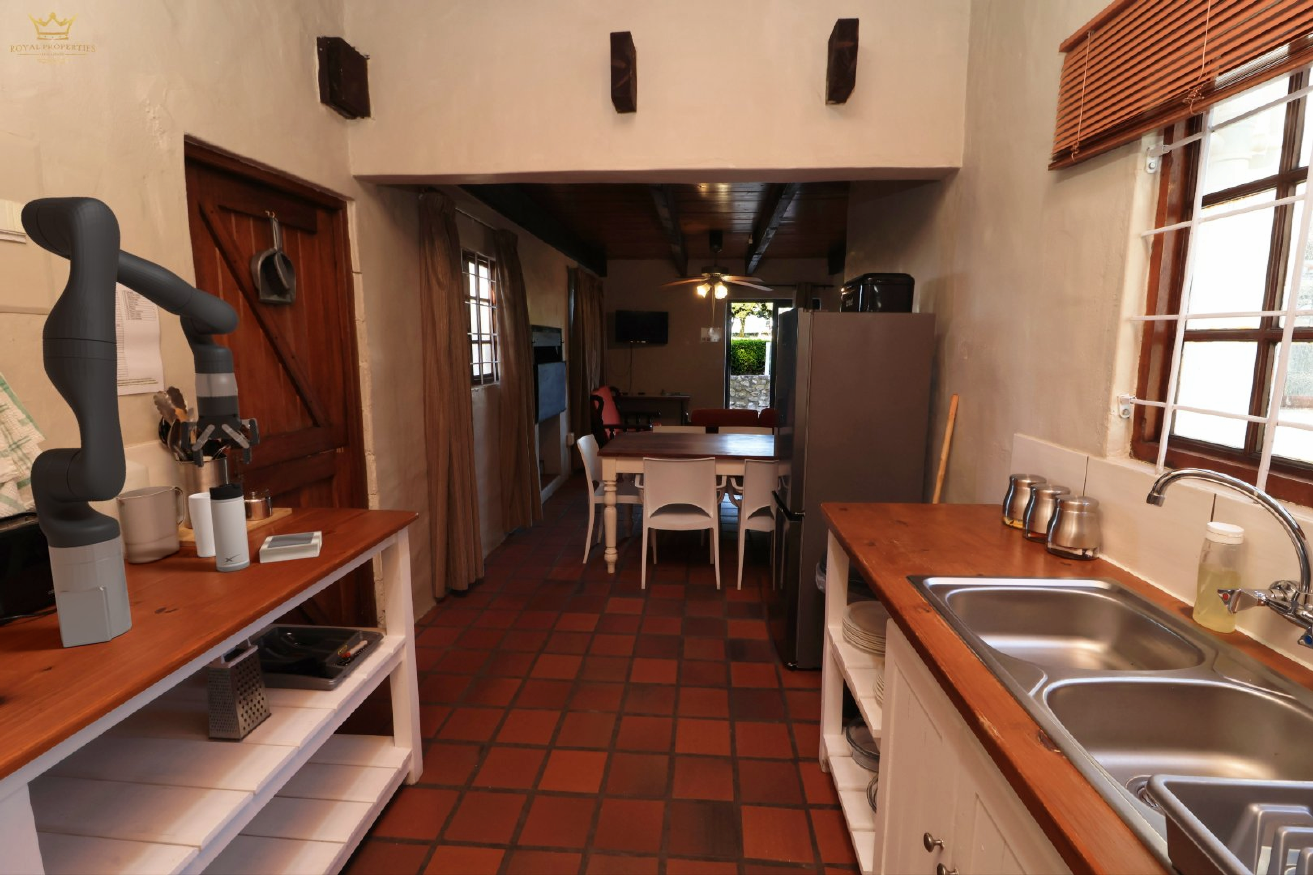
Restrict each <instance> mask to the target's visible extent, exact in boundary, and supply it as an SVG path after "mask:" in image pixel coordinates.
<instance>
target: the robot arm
mask: <svg viewBox="0 0 1313 875" xmlns="http://www.w3.org/2000/svg"><path fill="white" fill-rule="evenodd" d="M20 222H21V226H22V228H23V230H24V233H26V235H27V236H28V238H29V239H30V240H31V241H32V242H33V243H35V244H36V245H38V246H39V247H40V248H42V249H44V250H46V251H48V252H50V253H51V254H53V255H57V256H58V257H60V258H63V259H66V260H68V261H69V273H68V274H69V275H68V279H67V281H66V285H65V288H64V289H63V290H62V293H61V294H60V295H59V298H58V299H57V301H56V302H55V304H54V305H53V307H52V309H51V311H50V312H49V314H48V316H47V318H46V320H45V322H44V325H43V329H42V362H43V368H44V372H45V374H46V376H47V378H48V379H49V381H50V383H52V385H53V387H54V388H55V389H56V390H57V392H58V394H59V395H60V396H61V397H62V398H63V399H64V401H65V402H66V404H67V405H68V406H69V408H70V409H71V410H72V412H73V414H74V416H75V418H76V419H75V420H76V421H77V425H78V429H79V430H78V431H79V435H80V436H79V437H80V447H57V448H56V447H55V448H50V449H47V450H44V451H42V452H40V454H38V455H37V456H36V457H35V459H34V461H33V463H32V466H31V468H30V476H29V477H30V478H29V479H30V480H29V481H30V489H31V493H32V498H33V502H34V507H35V510H36V511H35V512H36V517H37V520H38V524H39V528H40V530H41V531H42V533H43V534H44V536H45V537H46V540H47V545H48V553H49V560H50V570H51V575H52V581H53V589H54V595H55V605H56V609H57V617H58V618H57V619H58V625H59V630H60V631H59V632H60V639H61V643H62V647H63V648H70V647H76V646H83V645H89V644H96V643H102V642H103V643H104V642H108V641H109V642H110V641H111V640H112V639H113V638H115V637H118V636H120V635H122V634H124V633H126V632H128V631H129V630H131V628H132V624H133V623H132V616H131V615H132V614H131V606H130V600H129V599H130V598H129V592H128V591H129V590H128V584H127V577H126V568H125V561H124V552H123V543H122V535H121V534H122V533H121V526H120V522H119V520H118V519H117V518H115V517H113V516H110V515H107V514H104V513H102V512H100V511H97V510H96V509H95V508H93V507H92V506H91V505H90V503H89V502H93V503H94V502H95V503H97V502H108V501H111V500H113V499H116V497H118V496H119V495H120V494H121V492H122V491H123V488H124V486H125V483H126V478H127V463H126V462H127V461H126V455H125V454H126V452H125V447H124V442H123V436H122V427H121V421H120V411H119V410H120V409H119V399H118V397H119V395H118V345H117V344H118V341H117V327H116V324H117V322H116V317H117V316H116V314H117V312H116V309H117V304H116V302H117V297H116V296H117V283H118V284H121V285H122V286H123V287H126V288H127V289H130V291H133V292H134V293H136V294H138V295H141V296H142V297H144V298H145V299H147V300H148V301H150V302H151V303H153V304H154V305H156V306H158V307H159V308H161V309H162V310H165V311H166V312H168V313H170V314H172V315H174V316H179V322H180V326H181V329H182V331H183V334H184V336H185V338H186V340H187V344H188V346H189V348H190V350H191V353H192V356H193V364H194V373H195V374H194V375H195V378H194V386H195V389H194V390H195V398H196V407H197V417H198V418H197V421H192V420H188V419H186V420H183V421H182V422H181V423H180V443H181V448H182V449H184V450H185V449H187V450H191V451H192V456H193V464H194V465H195V466H197V468H203V467H204V466H205V462H204V451H203V449H202V447H203V446H204V445H205V443H206V442H207V441H208V440H213V441H214V440H219V439H222V440H230V439H232V438H233V439H234V441H236V442H237V443H238V444H239V445H240V446H242V448H241V449H242V452H241V453H242V462H243V465H244V466H246V465H249V464H250V463H251V462H252V460H253V456H252V447H254V446H257V445H259V444H260V443H261V438H260V432H259V431H260V430H259V426H258V420H257V418H255V417H253V418H249V419H242V418H241V416H240V406H239V394H238V392H239V389H238V384H237V380H236V376H235V368H234V357H233V353H232V352H233V351H232V350H231V349H230V348H229V347H227V346H223V345H219V344H217V342H215V339H214V338H213V336H212V335H215V336H216V335H218V336H219V335H222V336H223V335H229V334H232V333H233V332H235V331H236V330H237V329H238V328H239V324H240V319H239V315H238V313H237V312H236V310H235V308H234V307H233V306H232V305H231V304H229V303H228V302H227V301H226V300H224V299H222V298H220V297H218V296H215V295H213V294H212V293H209V292H207V291H204V290H202V289H198V288H196V287H194V286H193V285H191V284H190V283H189V282H187V281H186V280H185V279H184V278H181V276H179V275H177V274H176V273H174V272H173V271H171V270H170V269H168V268H167V267H164V266H162V265H161V264H158V263H156V262H153V261H151V260H149V259H146V258H144V257H141V256H138V255H135V254H133V253H130V252H128V251H125V250H123V249H121V229H120V224H119V221H118V218H117V217H116V215H115V213H114V211H113V210H112V209H111V207H110V206H109V205H108V204H106V203H105V202H104V201H103V200H101V199H98V198H95V197H89V196H66V197H65V196H63V197H62V196H61V197H59V196H58V197H53V196H52V197H41V198H37V199H32V200H31V201H28V202H27V203H26V204H25V205H24V206H23V207H22V210H21V213H20ZM243 425H244V426H245V427H246V428H247V429H249V432H250V438H251V440H249V439H247V437H245V435H244V434H243V433H242V432H241V431H240V429H241V427H242V426H243ZM195 427H197V428H198V429H199V430H200V431H201V432H202V434H201V435H200V436H199V437H198V439H197V440H196V441H195V443H193V442H192V435H191V434H192V431H193V430H194V429H195Z"/></svg>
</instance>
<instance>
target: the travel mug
mask: <svg viewBox="0 0 1313 875" xmlns="http://www.w3.org/2000/svg"><path fill="white" fill-rule="evenodd" d="M208 492H210V501H211V502H210V505H211V515H212V525H213V535H214V545H215V554H216V556H215V562H216V570H217V571H218V572H222V573H230V572H231V573H232V572H237V571H241V570H243V569H246V568H248V567H249V566H250V565H251V564H250V553H249V542H248V534H247V533H248V530H247V520H246V519H247V518H246V509H245V508H246V507H245V499H244V498H245V497H244V493H243V482H242V481H241V482H239V481H238V482H230V483H225V484H219V485H218V486H215V487H214V486H213V487H212V486H211V487H209V491H208Z"/></svg>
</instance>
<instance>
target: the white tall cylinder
mask: <svg viewBox="0 0 1313 875" xmlns="http://www.w3.org/2000/svg"><path fill="white" fill-rule="evenodd" d="M187 502H188V511H189V518H190V522H191V526H192V530H193V532H192V533H193V534H194V540H195V546H196V552H197V553H196V554H197V556H198V557H200V558H212V557H216V554H215V545H214V535H213V525H212V515H211V505H210V502H211V501H210V492H209V491H207V492H199V493H194V494H190V495H188V501H187Z"/></svg>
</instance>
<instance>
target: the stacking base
mask: <svg viewBox="0 0 1313 875" xmlns="http://www.w3.org/2000/svg"><path fill="white" fill-rule="evenodd" d="M322 544H323V535H322V530H318V531H312V532H301V533H289V534H281V535H271V536H267V537H266V538H265V540H264V541H263V544H262V545H261V547H260V549H259V551H258V552H259V562H260V564H263V563H265V564H266V563H272V562H282V561H290V560H298V559H305V558H316V557H319V555H320V551H321V548H322Z"/></svg>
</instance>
